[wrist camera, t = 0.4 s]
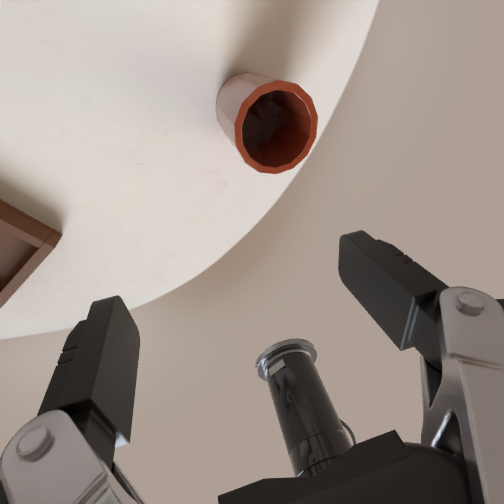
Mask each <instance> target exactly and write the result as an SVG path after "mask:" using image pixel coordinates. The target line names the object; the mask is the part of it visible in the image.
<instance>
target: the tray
mask: <svg viewBox="0 0 504 504" xmlns="http://www.w3.org/2000/svg"><path fill="white" fill-rule="evenodd" d="M61 237H62V234H60V233H58V232H57V231H55V230H53V229H51V228H50V227H48V226H46V225H44V224H42V223H41V222H39V221H37V220H35V219H33V218H32V217H30V216H28V215H26V214H25V213H23V212H21V211H19V210H17V209H16V208H14V207H12V206H10V205H8V204H7V203H5V202H3V201H1V200H0V308H1V307H2V306H3V305H4V304H5V303H6V302H7V301H8V300H9V298H10V297H11V296H12V295H13V294H14V293H15V292H16V291H17V289H18V288H19V287H20V286H21V285H22V284H23V283H24V282H25V280H26V279H27V278H28V277H29V276H30V275H31V274H32V273H33V272H34V270H35V269H36V268H37V267H38V266H39V265H40V264H41V263H42V261H43V260H44V259H45V258H46V257H47V256H48V255H49V254H50V253H51V251H52V250H53V249H54V248H55V247H56V245H57V243H58V242H59V240H60V238H61Z"/></svg>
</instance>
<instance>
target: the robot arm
mask: <svg viewBox="0 0 504 504" xmlns="http://www.w3.org/2000/svg"><path fill="white" fill-rule="evenodd" d="M338 269H339V275H340V278H341V280H342V282H343V283H344V285H345V286H346V287H347V288H348V289H349V291H350V292H351V293H352V294H353V295H354V297H355V298H356V299H357V300H358V301H359V303H360V304H361V305H362V306H363V307H364V308H365V310H366V311H367V312H368V313H369V314H370V315H371V317H372V318H373V319H374V320H375V321H376V323H377V324H378V325H379V326H380V327H381V328H382V330H383V331H384V332H385V333H386V334H387V335H388V337H389V338H390V339H391V340H392V341H393V342H394V344H395V345H396V346H397V347H398V348H399V350H400V351H402V350H405V349H408V348H411V347H415V348H416V349H417V350H418V351H419V352H420V354H421V356H420V368H421V383H422V398H423V426H422V433H421V444H419V443H409V442H403V441H402V440H401V438H400V437H399V435H398V434H397V432H396V431H395V430H393V431H390V432H387V433H385V434H383V435H379V436H377V437H374V438H372V439H369V440H366V441H364V442H361V443H358V444H356V441H355V437H354V435H353V433H352V431H351V430H350V428H349V427H348V426H347V425H346V424H345V423H344V422H343V421H342V420H341V419H339V417H338V415H337V413H336V411H335V408H334V406H333V404H332V402H331V400H330V398H329V395H328V393H327V391H326V389H325V387H324V385H323V383H322V380H321V378H320V376H319V374H318V371H317V369H316V367H315V365H314V363H313V360H312V357H311V355H310V353H309V352H308V351H307V350H305V349H302V348H291V349H287V350H283V351H281V352H279V353H277V354H275V355H274V356H272V357H271V358H270V359H269V360H268V361H267V362H266V364H265V366H264V374H265V377H266V379H267V382H268V385H269V389H270V392H271V396H272V399H273V403H274V406H275V410H276V413H277V416H278V420H279V423H280V427H281V430H282V433H283V437H284V440H285V443H286V447H287V450H288V454H289V457H290V460H291V463H292V467H293V470H294V473H295V477H294V478H270V479H269V478H268V479H262V480H259V481H257V482H254V483H251V484H249V485H246V486H243V487H241V488H238V489H235V490H233V491H230V492H227V493H225V494H222V495H219V496H218V502H219V504H504V299H494V298H493V297H491V296H490V295H488V294H486V293H484V292H482V291H479V290H476V289H473V288H468V287H449V286H447V285H446V284H445V283H443V282H442V281H441V280H439V279H438V278H436V277H435V276H434V275H432V274H431V273H430V272H428V271H427V270H426V269H424V268H423V267H422V266H420V265H419V264H418V263H416V262H413V260H412V259H411V258H409V257H408V256H407V255H404V253H403V252H402V251H400V250H399V249H398V248H396V247H395V246H394V245H392V244H389V243H387V242H384V241H381V240H375V239H374V238H372V237H371V236H370V235H368V234H367V233H366V232H364V231H362V230H360V231H357V232H352V233H349V234H345V235H342V236H341V237H340V242H339V266H338ZM139 349H140V336H139V331H138V328H137V326H136V324H135V322H134V320H133V319H132V317H131V315H130V313H129V311H128V309H127V307H126V306H125V304H124V302H123V300H122V299H121V297H120V296H118V295H117V296H113V297H109V298H106V299H102V300H98V301H94V302H93V303H92V305H91V308H90V310H89V313H88V316H87V319H86V320H83V321H79V323H78V324H77V325H76V326H75V328H74V329H73V330H72V331H71V333H70V334H69V335H68V337H67V339H66V342H65V345H64V347H63V350H62V351H63V353H61V355H60V358H59V360H58V366H56V368H55V371H54V373H53V376H52V378H51V381H50V384H49V386H48V389H47V391H46V394H45V396H44V399H43V402H42V404H41V407H40V409H39V412H38V415H37V417H35V418H33V419H32V420H30V421H29V422H28V423H26V424H25V425H24V426H23V427H22V428H21V429H20V430H19V431H18V432H17V433H16V434H15V435H14V436H13V437H12V438H11V440H10V441H9V442H8V444H7V445H6V447H5V449H4V451H3V452H2V455H1V457H0V504H146V503H145V501H144V500H143V498H142V497H141V496H140V494H139V493H138V492H137V490H136V489H135V487H134V486H133V485H132V484H131V482H130V481H129V479H128V478H127V477H126V475H125V474H124V472H123V471H122V469H121V468H120V467H119V465H118V464H117V463H116V462H115V461H114V460H113V457H114V450H115V448H117V447H119V446H122V445H126V444H128V443H130V436H131V435H130V434H131V426H132V417H133V407H134V397H135V388H136V377H137V368H138V359H139ZM342 425H343V426H344V427H345V428H346V429H347V430H348V432H349V433H350V435H351V437H352V440H353V445H354V446H352V445H351V443H350V441H349V439H348V437H347V435H346V432H345V431H344V428H343V426H342Z"/></svg>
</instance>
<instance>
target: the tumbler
mask: <svg viewBox="0 0 504 504" xmlns="http://www.w3.org/2000/svg"><path fill="white" fill-rule="evenodd" d="M216 115H217V120H218V122H219V124H220V126H221V127H222V129H223V131H224V133H225V134H226V136H227V137H228V139H229V140H230V142H231V143H232V144H233V146H234V147H235V149H236V150H237V152H238V153H239V155H240V156H241V158H242V159H243V160H244V162H245V163H246V164H248V165H249V166H251V167H252V168H254V169H255V170H257V171H258V172H261V173H270V174H278V173H281V172H284V171H287V170H290V169H292V168H294V167H295V166H296V165H297V164H298V163H300V162H301V161H302V160H303V159H304V158H305V157H306V156H307V155H308V153H309V151H310V149H311V147H312V145H313V143H314V141H315V139H316V133H317V122H318V116H317V113H316V110H315V107H314V104H313V101H312V98H311V97H310V96H309V95H308V94H307V93H306V92H305V91H304V90H303V89H302V88H301V87H300V86H299V85H297V84H295V83H290V82H286V81H281V80H277V79H273V78H268V77H264V76H259V75H254V74H250V73H243V74H238V75H235V76H233V77H232V78H230V79H229V80H228V81H227V82H226V83H225V84H224V85H223V86H222V88H221V89H220V91H219V94H218V97H217V101H216Z"/></svg>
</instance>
